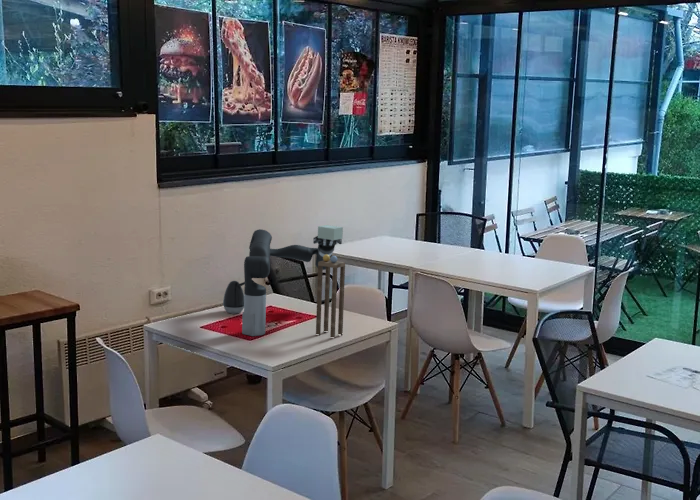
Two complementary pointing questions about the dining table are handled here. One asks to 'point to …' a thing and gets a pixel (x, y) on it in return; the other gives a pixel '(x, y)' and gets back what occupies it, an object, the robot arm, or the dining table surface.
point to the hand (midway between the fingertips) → (329, 233)
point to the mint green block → (330, 232)
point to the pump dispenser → (234, 298)
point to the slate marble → (333, 259)
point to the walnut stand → (334, 292)
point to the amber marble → (326, 257)
